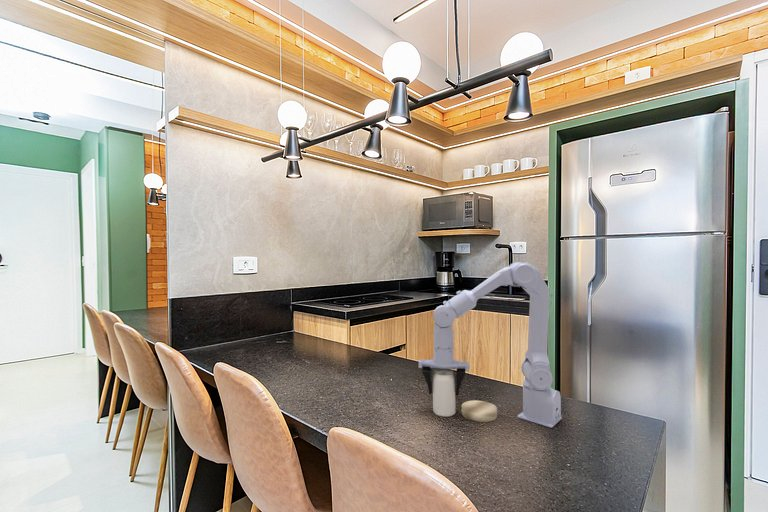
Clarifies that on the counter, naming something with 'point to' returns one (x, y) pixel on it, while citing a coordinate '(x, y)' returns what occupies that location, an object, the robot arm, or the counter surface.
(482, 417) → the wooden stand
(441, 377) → the can
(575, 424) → the counter surface
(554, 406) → the robot arm
